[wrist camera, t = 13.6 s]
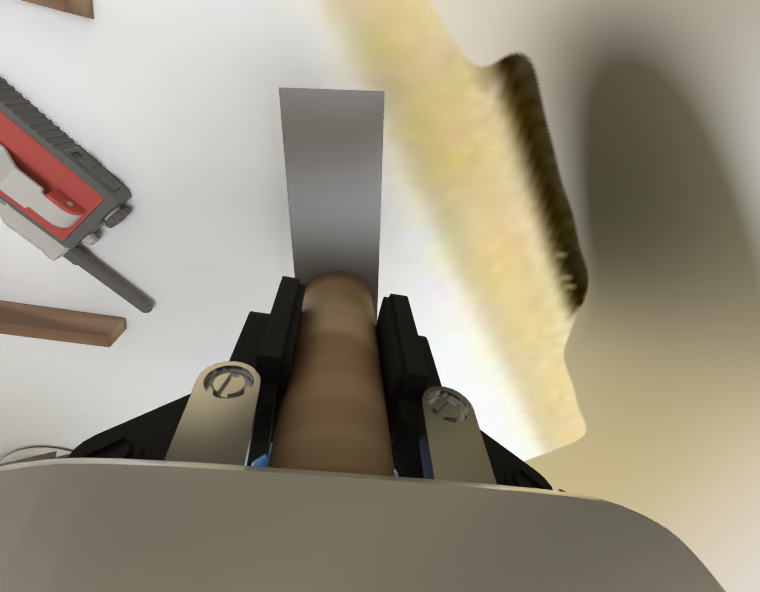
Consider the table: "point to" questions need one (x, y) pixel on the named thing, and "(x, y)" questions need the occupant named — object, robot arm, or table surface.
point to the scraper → (334, 284)
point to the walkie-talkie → (56, 190)
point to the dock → (52, 320)
